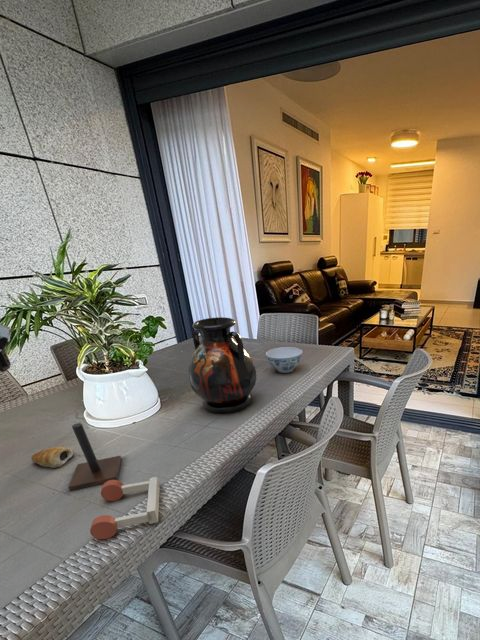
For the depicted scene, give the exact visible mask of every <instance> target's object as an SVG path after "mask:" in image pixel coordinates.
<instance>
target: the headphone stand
mask: <svg viewBox="0 0 480 640" xmlns="http://www.w3.org/2000/svg"><path fill="white" fill-rule="evenodd" d="M71 428H72V430H73V433H74V435H75V437H76V440H77V442H78V444H79V446H80V449H81V451H82V453H83V456H84V458H85V460H86V462H81V463H78V464H77V465H76V468H75V469H74V473H73V475H72V478H71V480H70V482H69V484H68V489H69V492H71V491H76V490H80V489H86V488H90V487H94V486H100V485H103V484H104V483H105V482H107V481H109V480H119V479H118V478H119V474H120V470H121V464H122V460H123V458H122V456H121V455H116V456H111V457H106V458H101V459H97V457H96V455H95V452H94V449H93V447H92V445H91V443H90V440H89V438H88V435H87V433H86V431H85V430H86V429H85V428H84V425H83V423H81V422H78V423H75V424H73V425H71Z"/></svg>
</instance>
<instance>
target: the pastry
mask: <svg viewBox="0 0 480 640" xmlns="http://www.w3.org/2000/svg"><path fill="white" fill-rule="evenodd" d="M73 455H74V451H73V450H72V449H71V448H70V447H64V446H54V447H50V448H49V447H48V448H45V449H42V450H40V451H37V452H35V453H34V454H33V455H31V461H32V462H33V463H36V464H37V465H39V466H40V467H45V468H51V469H55V468H56V469H57V468H60V467H62V466H63V465H64V464H66V463H67V462H68V460H70V459H71V458H72V457H73Z"/></svg>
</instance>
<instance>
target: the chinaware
mask: <svg viewBox="0 0 480 640" xmlns="http://www.w3.org/2000/svg"><path fill="white" fill-rule="evenodd" d="M265 357H266V359H267V361H268V363H269V364H270V365H271V367H272V368H274V369H276V370H277V372H278V373H282V374H286V373H287V374H288V373H291V372H294V370H295V368H296V367H297V366H298V365H299V363H300V362H301V360H302V357H303V350H302V349H300V348H298V347H293V346H282V347H275V348H271V349H269V350H267V351H266V352H265Z"/></svg>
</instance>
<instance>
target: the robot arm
mask: <svg viewBox="0 0 480 640" xmlns="http://www.w3.org/2000/svg"><path fill="white" fill-rule="evenodd" d="M11 336H12V328H11V326H7V325H4V324H1V323H0V372H1V373H5V372H7V371H8V370H9V369H10V368H11V364H12V363H11V360H10V359H9V356H8V354H7V352H6V350H5V349H6V348H7V346H8V344H9V343H10V342H11Z"/></svg>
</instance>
